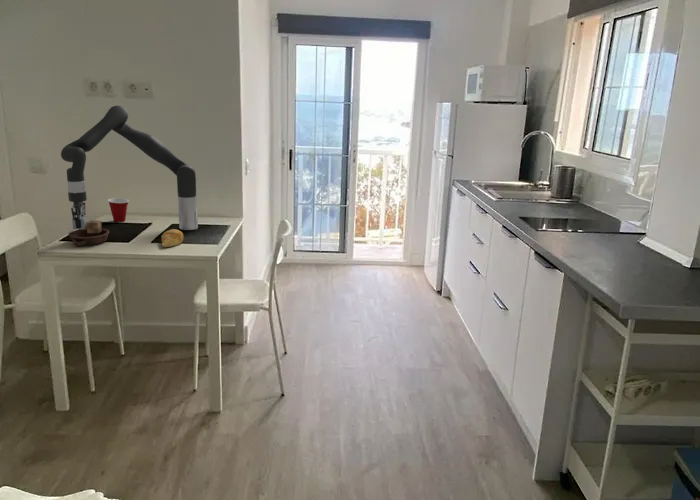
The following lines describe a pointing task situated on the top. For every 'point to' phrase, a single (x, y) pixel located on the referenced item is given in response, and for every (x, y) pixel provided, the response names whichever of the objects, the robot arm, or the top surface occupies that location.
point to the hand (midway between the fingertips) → (80, 226)
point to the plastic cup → (118, 208)
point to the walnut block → (94, 226)
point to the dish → (88, 237)
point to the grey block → (83, 223)
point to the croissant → (172, 238)
